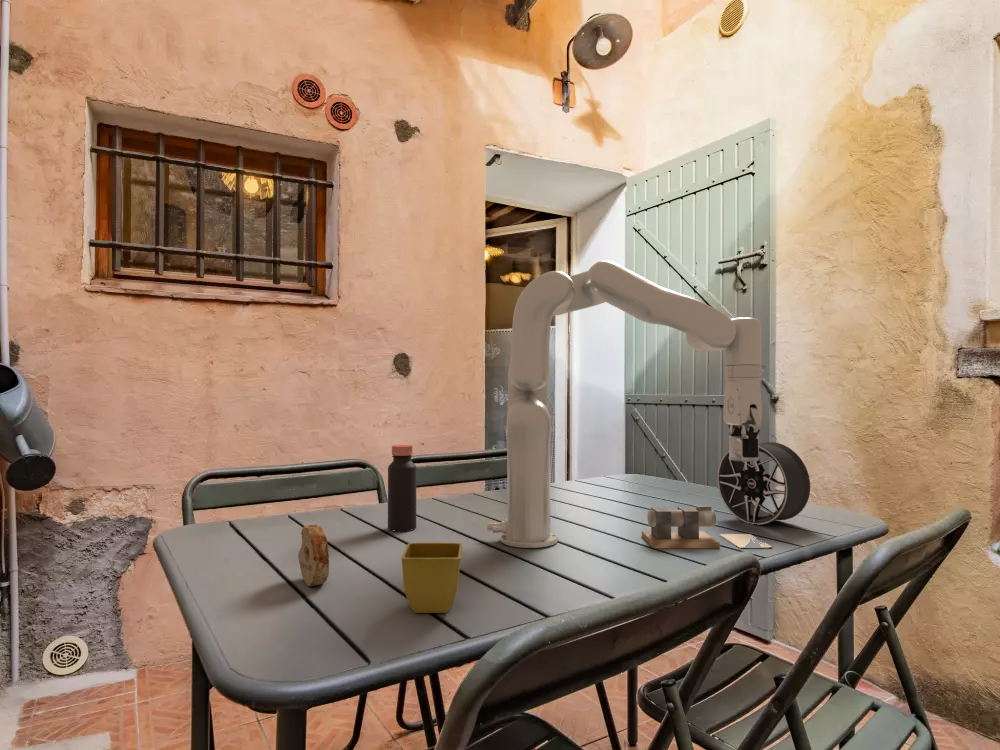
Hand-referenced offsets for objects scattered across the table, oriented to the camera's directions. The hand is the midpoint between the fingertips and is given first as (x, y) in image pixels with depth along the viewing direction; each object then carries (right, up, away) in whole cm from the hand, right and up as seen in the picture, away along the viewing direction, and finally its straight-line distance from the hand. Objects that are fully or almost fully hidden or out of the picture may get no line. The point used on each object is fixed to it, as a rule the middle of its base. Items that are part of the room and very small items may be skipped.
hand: (743, 454), depth 129 cm
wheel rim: (+13, -20, +19) cm, 30 cm away
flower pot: (-64, -19, -39) cm, 77 cm away
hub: (0, -1, 0) cm, 1 cm away
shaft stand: (-14, -19, 0) cm, 24 cm away
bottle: (-77, -20, +12) cm, 81 cm away
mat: (0, -19, 0) cm, 19 cm away
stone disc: (-86, -19, -27) cm, 92 cm away
